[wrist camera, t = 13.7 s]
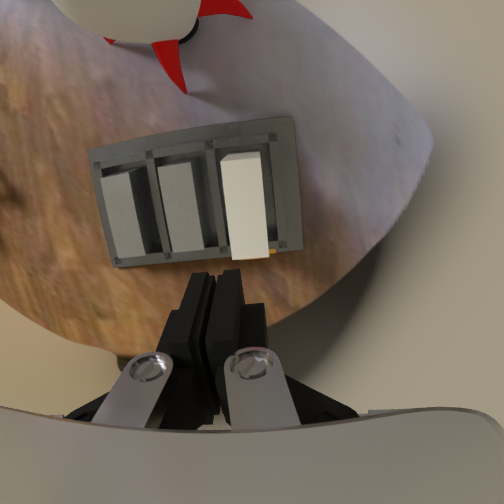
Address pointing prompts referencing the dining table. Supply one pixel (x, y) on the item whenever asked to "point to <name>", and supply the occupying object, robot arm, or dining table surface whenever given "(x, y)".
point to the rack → (192, 191)
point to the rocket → (149, 23)
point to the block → (245, 204)
